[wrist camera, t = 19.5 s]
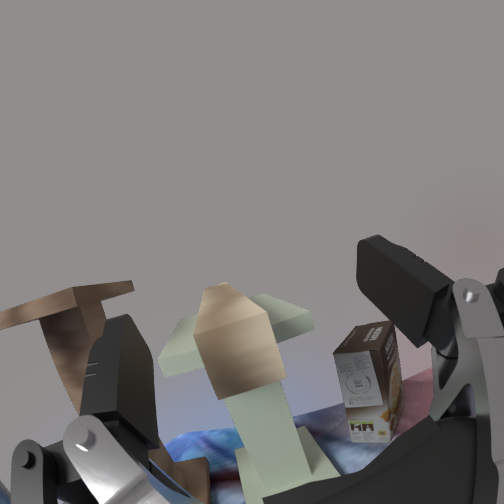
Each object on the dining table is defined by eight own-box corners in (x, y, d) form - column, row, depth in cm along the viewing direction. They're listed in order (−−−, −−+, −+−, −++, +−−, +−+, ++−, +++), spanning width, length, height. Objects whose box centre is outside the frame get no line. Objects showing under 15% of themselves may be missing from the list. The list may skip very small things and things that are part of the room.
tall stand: (128, 544, 15) (-14, 317, 16) (145, 472, 33) (64, 301, 33) (214, 541, 17) (71, 287, 18) (208, 462, 35) (131, 280, 35)
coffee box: (391, 444, 27) (380, 349, 27) (350, 443, 31) (330, 354, 31) (405, 405, 34) (394, 318, 34) (369, 407, 38) (353, 324, 38)
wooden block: (218, 400, 10) (192, 335, 10) (211, 308, 38) (205, 288, 38) (287, 377, 11) (266, 311, 11) (232, 302, 38) (225, 281, 38)
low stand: (255, 533, 18) (157, 360, 18) (237, 455, 36) (180, 319, 36) (354, 497, 20) (310, 311, 20) (306, 431, 38) (263, 293, 38)
